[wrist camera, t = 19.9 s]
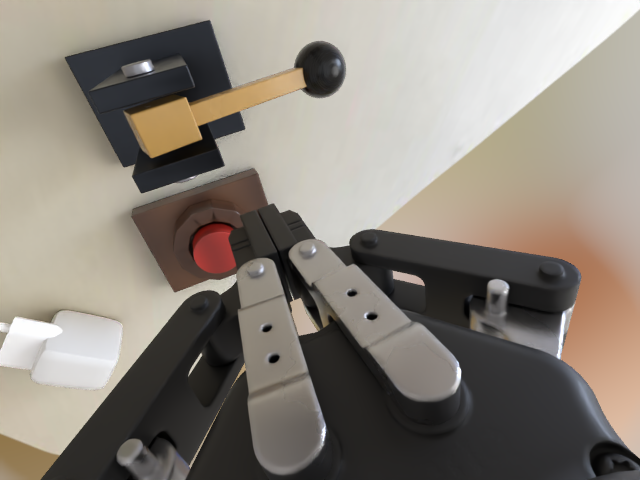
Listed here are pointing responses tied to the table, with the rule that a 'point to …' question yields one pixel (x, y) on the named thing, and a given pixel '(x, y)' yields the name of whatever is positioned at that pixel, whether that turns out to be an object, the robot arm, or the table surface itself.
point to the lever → (233, 100)
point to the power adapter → (64, 349)
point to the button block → (195, 223)
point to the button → (213, 248)
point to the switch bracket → (157, 97)
